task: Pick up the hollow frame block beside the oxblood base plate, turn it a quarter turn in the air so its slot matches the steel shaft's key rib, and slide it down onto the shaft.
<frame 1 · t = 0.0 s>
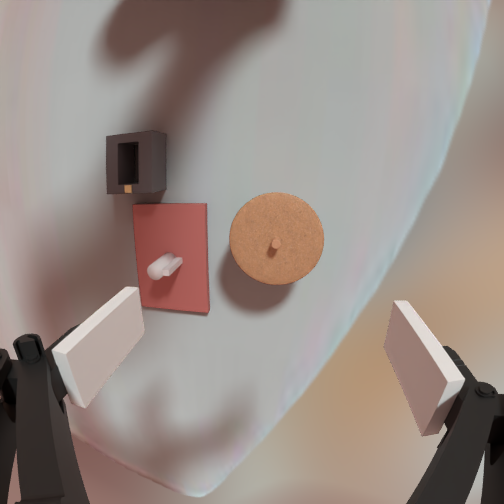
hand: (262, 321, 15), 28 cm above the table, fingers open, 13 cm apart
hollow frame block: (144, 162, 41), on the table
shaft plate: (172, 257, 45), on the table
lidded jar: (278, 227, 42), on the table
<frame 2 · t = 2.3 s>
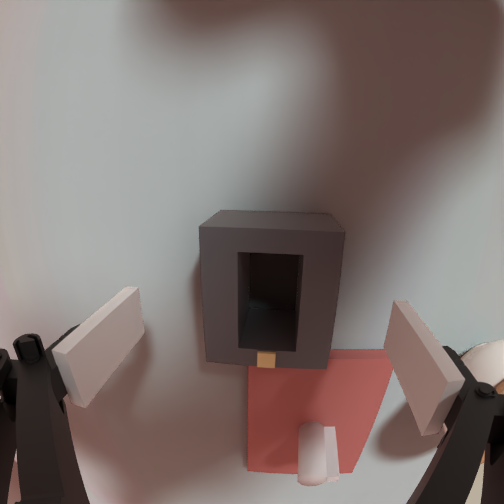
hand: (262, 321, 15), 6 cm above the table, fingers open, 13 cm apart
hollow frame block: (273, 271, 20), on the table
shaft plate: (311, 419, 24), on the table
lidded jar: (474, 368, 21), on the table
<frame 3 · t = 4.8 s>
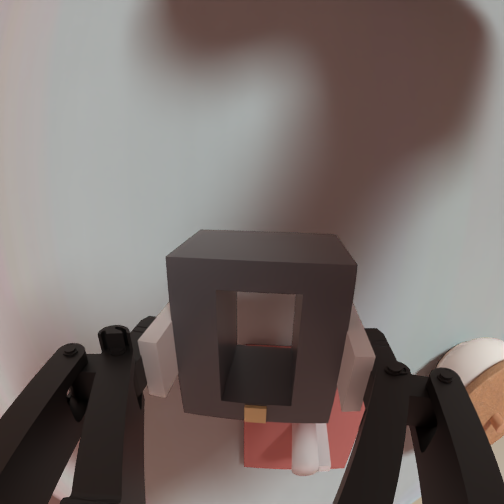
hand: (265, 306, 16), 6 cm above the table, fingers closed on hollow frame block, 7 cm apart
hollow frame block: (265, 303, 17), point 6 cm above the table, touching gripper
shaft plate: (303, 415, 26), on the table
lidded jar: (458, 366, 24), on the table
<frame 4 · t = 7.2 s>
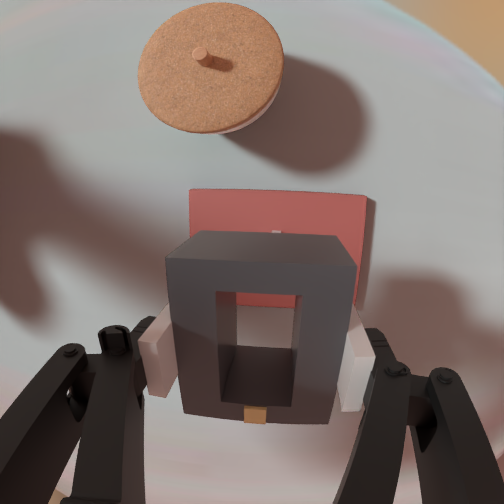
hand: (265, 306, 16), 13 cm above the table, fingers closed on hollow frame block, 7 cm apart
hollow frame block: (265, 304, 17), point 13 cm above the table, touching gripper
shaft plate: (276, 248, 29), on the table
lidded jar: (226, 87, 26), on the table
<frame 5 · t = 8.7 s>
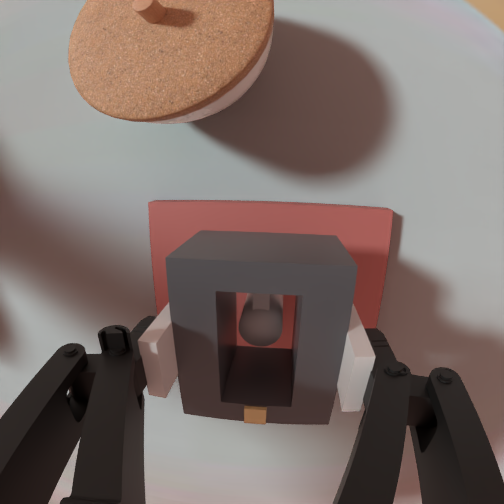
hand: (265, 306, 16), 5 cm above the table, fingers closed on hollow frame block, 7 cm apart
hollow frame block: (265, 304, 17), point 5 cm above the table, touching gripper
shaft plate: (267, 280, 22), on the table
lidded jar: (199, 62, 18), on the table
when the fingers open (2 cm above the table, at t = 9.7 s): hollow frame block stays where it is, resting on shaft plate.
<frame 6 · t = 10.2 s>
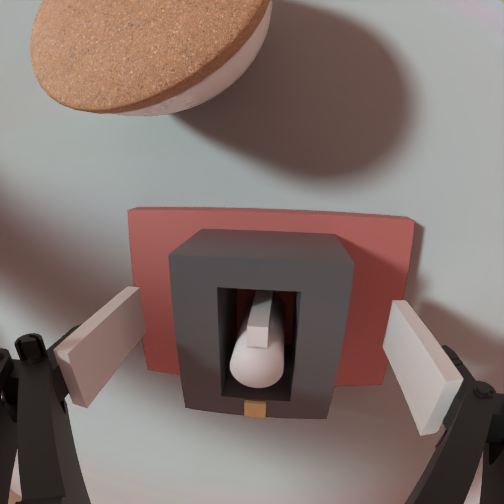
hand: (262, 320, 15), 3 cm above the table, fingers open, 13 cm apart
hollow frame block: (265, 301, 17), point 1 cm above the table, touching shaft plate
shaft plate: (267, 300, 18), on the table
lidded jar: (188, 47, 15), on the table
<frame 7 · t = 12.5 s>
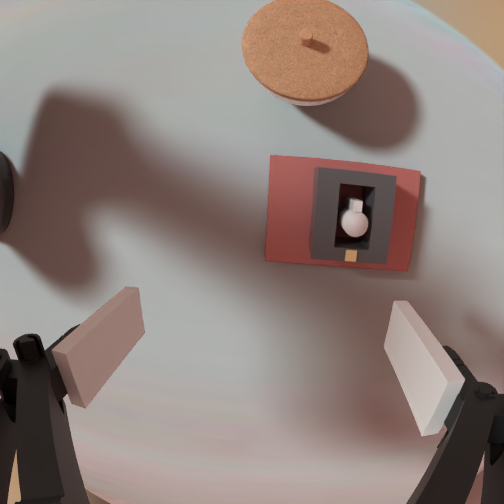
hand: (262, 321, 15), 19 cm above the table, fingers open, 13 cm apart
hollow frame block: (345, 209, 30), point 1 cm above the table, touching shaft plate
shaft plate: (343, 213, 32), on the table
lidded jar: (303, 70, 28), on the table
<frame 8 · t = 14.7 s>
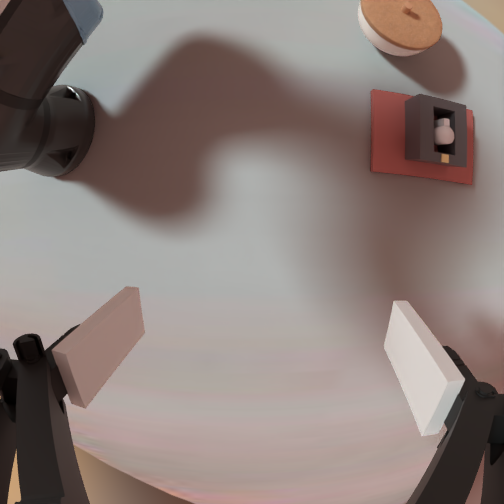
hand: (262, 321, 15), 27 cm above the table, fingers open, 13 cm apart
hollow frame block: (427, 133, 34), point 1 cm above the table, touching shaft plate
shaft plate: (424, 138, 35), on the table
lidded jar: (386, 33, 31), on the table
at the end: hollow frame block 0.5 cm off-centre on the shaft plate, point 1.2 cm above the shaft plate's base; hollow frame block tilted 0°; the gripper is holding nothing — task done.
